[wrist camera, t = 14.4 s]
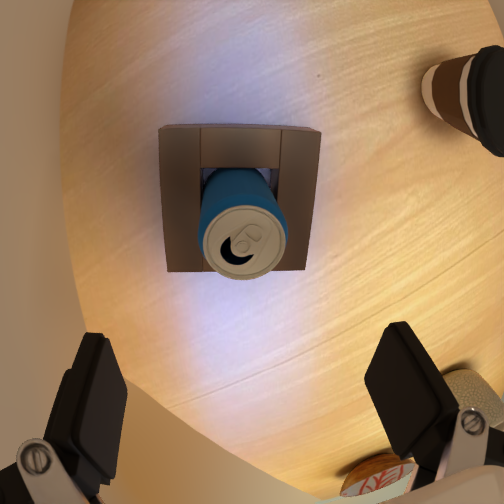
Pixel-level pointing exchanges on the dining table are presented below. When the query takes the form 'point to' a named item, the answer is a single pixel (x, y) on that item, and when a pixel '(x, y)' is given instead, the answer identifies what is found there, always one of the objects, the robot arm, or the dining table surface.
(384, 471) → the bowl
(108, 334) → the dining table surface
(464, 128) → the coffee cup
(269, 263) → the beverage can
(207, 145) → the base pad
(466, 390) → the planter
